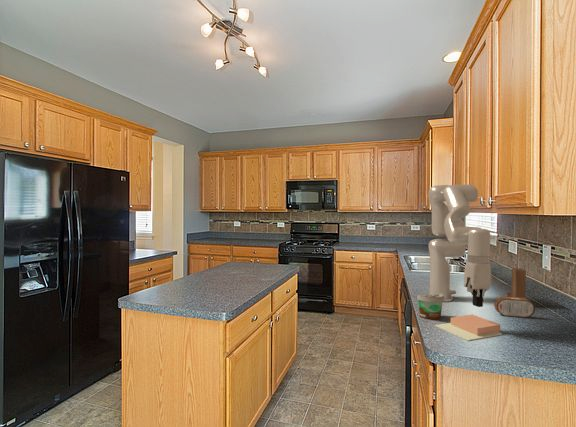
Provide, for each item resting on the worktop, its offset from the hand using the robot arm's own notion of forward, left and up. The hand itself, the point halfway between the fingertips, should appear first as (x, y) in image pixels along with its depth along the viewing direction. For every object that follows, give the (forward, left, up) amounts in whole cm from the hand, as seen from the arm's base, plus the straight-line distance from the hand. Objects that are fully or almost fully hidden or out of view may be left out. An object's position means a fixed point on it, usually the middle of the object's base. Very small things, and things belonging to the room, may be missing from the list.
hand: (477, 305), depth 123 cm
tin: (-29, -5, -9) cm, 31 cm away
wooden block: (-48, -17, -9) cm, 52 cm away
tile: (-5, 0, -7) cm, 9 cm away
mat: (+5, 0, -9) cm, 10 cm away
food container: (+8, -15, -9) cm, 19 cm away
